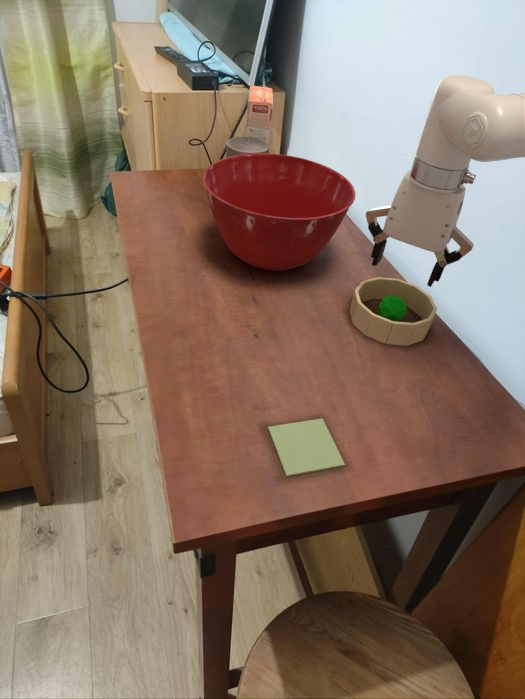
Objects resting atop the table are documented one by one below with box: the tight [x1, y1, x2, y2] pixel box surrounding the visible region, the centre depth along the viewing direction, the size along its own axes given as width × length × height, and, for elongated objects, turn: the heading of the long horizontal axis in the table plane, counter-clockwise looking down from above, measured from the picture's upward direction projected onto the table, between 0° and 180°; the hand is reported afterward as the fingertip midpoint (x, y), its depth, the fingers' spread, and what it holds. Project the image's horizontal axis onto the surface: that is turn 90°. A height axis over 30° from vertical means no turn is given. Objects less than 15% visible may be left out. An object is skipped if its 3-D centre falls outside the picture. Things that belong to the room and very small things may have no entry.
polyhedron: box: [377, 295, 408, 322], centre depth 90 cm, size 5×5×5 cm
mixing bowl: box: [202, 152, 356, 272], centre depth 100 cm, size 28×28×16 cm
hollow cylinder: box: [349, 276, 438, 347], centre depth 90 cm, size 14×14×4 cm
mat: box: [267, 417, 346, 478], centre depth 67 cm, size 8×8×1 cm
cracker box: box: [244, 85, 274, 145], centre depth 126 cm, size 14×6×21 cm, turn 179°
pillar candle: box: [225, 136, 270, 158], centre depth 117 cm, size 10×10×15 cm
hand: (403, 272), depth 85 cm, fingers open, 9 cm apart
